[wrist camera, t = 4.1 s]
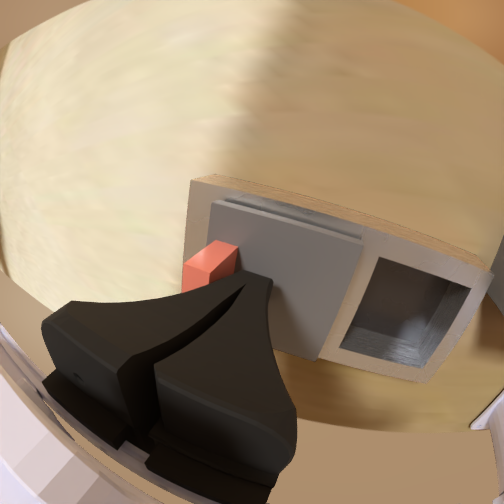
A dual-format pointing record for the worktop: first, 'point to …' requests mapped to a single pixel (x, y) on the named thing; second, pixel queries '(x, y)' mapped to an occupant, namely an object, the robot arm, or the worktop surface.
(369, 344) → the socket
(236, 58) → the worktop surface
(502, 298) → the grey block
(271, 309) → the shutter
